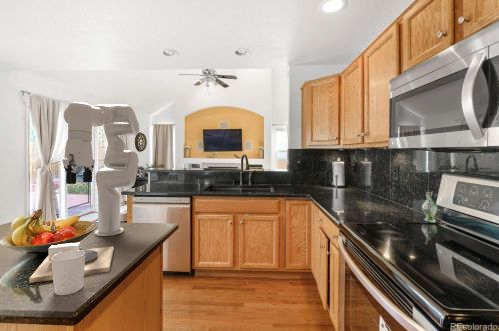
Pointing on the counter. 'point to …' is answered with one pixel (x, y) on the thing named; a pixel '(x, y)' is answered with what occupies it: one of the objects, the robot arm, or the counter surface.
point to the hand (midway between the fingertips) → (79, 183)
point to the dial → (59, 248)
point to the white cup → (68, 271)
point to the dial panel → (95, 266)
